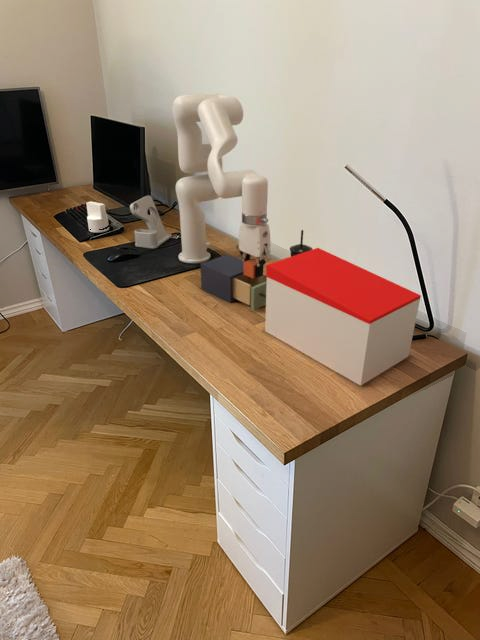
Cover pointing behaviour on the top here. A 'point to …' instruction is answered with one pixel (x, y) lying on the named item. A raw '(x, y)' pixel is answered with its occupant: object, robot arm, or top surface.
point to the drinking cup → (299, 247)
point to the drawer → (250, 290)
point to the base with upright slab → (97, 217)
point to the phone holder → (148, 224)
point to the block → (249, 268)
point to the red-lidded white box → (340, 314)
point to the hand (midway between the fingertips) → (253, 273)
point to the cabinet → (221, 276)
